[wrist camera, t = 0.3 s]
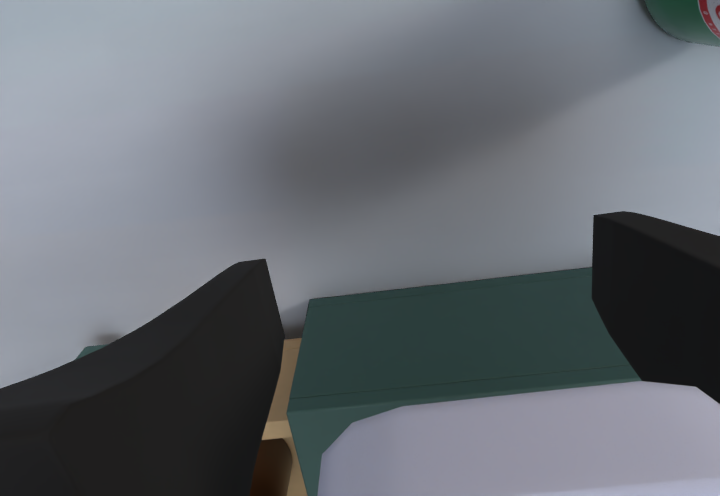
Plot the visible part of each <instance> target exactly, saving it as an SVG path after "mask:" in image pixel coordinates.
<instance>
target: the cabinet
mask: <svg viewBox="0 0 720 496" xmlns="http://www.w3.org/2000/svg"><path fill="white" fill-rule="evenodd" d="M636 381H642V380H641V379H640V377H639V376H638V375H637V373H636V372H635V370H634V369H633V368H632V366H631V365H630V363H629V362H628V361H627V359H626V358H625V356H624V355H623V353H622V352H621V351H620V349H619V348H618V346H617V345H616V343H615V342H614V341H613V339H612V338H611V336H610V335H609V333H608V331H607V329H606V327H605V325H604V323H603V321H602V319H601V317H600V315H599V313H598V311H597V309H596V307H595V304H594V302H593V300H592V267H590V268H581V269H573V270H564V271H555V272H546V273H538V274H529V275H520V276H511V277H503V278H494V279H485V280H476V281H468V282H459V283H450V284H441V285H433V286H424V287H415V288H406V289H398V290H389V291H380V292H371V293H362V294H354V295H345V296H336V297H327V298H319V299H310V300H309V305H308V310H307V315H306V320H305V325H304V329H303V334H302V339H301V344H300V348H299V353H298V358H297V363H296V368H295V372H294V377H293V382H292V387H291V392H290V396H289V402H288V407H287V412H286V414H287V418H288V422H289V426H290V430H291V433H292V437H293V441H294V445H295V449H296V453H297V457H298V461H299V465H300V469H301V472H302V476H303V480H304V484H305V488H306V492H307V496H317V494H318V486H319V477H320V468H321V459H322V454H323V453H324V452H325V451H326V450H327V449H328V448H329V447H330V446H331V444H332V443H333V442H334V441H335V440H336V439H337V438H338V437H339V436H340V435H341V434H342V433H343V432H344V431H345V430H346V429H347V428H348V427H349V426H350V424H351V423H353V422H356V421H359V420H362V419H365V418H368V417H371V416H374V415H377V414H380V413H383V412H386V411H389V410H392V409H395V408H399V407H402V406H410V405H419V404H429V403H438V402H447V401H457V400H466V399H476V398H485V397H494V396H504V395H513V394H523V393H532V392H541V391H551V390H560V389H570V388H579V387H589V386H598V385H607V384H617V383H626V382H636Z"/></svg>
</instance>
